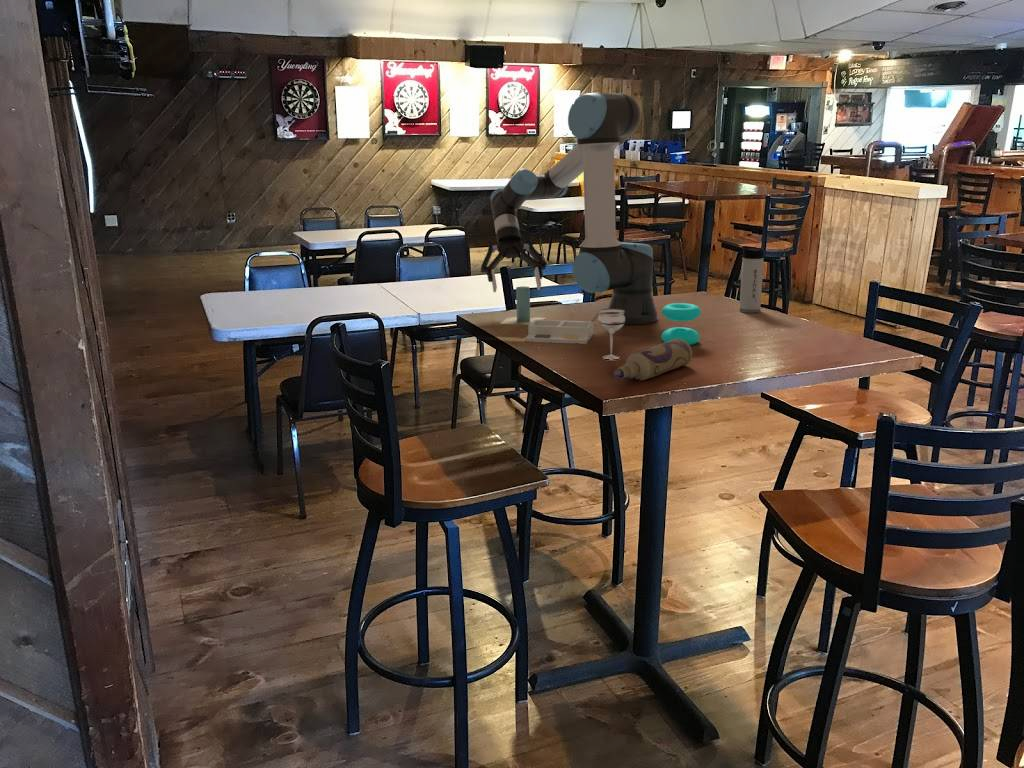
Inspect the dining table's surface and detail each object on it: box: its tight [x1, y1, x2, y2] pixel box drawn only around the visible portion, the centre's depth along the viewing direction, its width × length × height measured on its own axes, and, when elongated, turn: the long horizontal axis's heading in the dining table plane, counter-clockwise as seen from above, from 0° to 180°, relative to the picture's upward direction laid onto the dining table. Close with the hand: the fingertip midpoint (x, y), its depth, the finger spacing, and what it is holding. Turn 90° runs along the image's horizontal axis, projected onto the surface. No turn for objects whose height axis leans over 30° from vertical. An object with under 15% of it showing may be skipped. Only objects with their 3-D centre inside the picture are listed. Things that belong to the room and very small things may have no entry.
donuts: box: [661, 302, 702, 346], centre depth 221 cm, size 10×10×10 cm
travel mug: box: [739, 245, 765, 314], centre depth 256 cm, size 6×7×20 cm
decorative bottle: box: [613, 339, 694, 381], centre depth 193 cm, size 26×8×7 cm, turn 134°
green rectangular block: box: [515, 285, 531, 322], centre depth 246 cm, size 4×4×10 cm
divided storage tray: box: [524, 319, 594, 345], centre depth 230 cm, size 17×12×4 cm
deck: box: [499, 316, 547, 326], centre depth 248 cm, size 12×10×1 cm
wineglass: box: [597, 308, 625, 361], centre depth 207 cm, size 7×7×12 cm
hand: (517, 288), depth 250 cm, fingers open, 13 cm apart
